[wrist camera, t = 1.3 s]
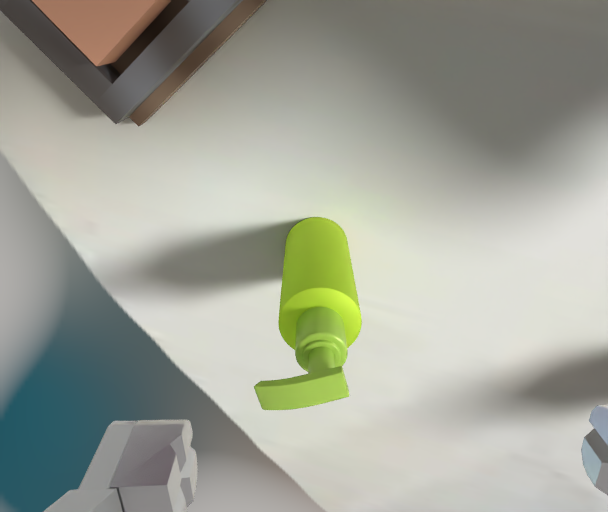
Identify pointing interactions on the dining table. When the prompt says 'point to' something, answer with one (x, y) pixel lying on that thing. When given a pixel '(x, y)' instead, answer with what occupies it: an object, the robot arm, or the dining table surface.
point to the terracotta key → (102, 23)
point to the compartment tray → (139, 52)
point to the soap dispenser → (315, 316)
